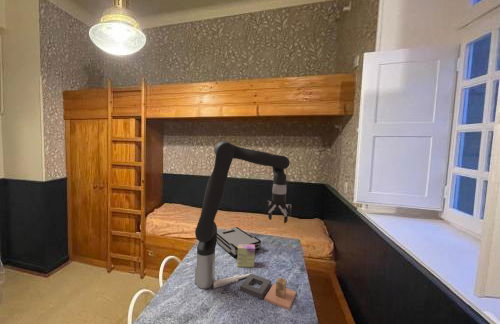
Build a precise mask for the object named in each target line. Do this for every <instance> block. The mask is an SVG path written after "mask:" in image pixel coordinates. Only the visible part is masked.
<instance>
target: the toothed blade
mask: <svg viewBox="0 0 500 324" xmlns="http://www.w3.org/2000/svg"><path fill="white" fill-rule="evenodd" d="M250 274H253V273H252V272H250V273H247V274H242V275H239V274H235V275H234V276H230V277H225V278H220V279H216V280H214V283H213V288H219V287H222V286H223V287H225V286H227V285H230V284H232V283H233V284H234V283H238V282H239V280H241V279H244V278H245V279H246V278H247V277H248V276H249V275H250Z"/></svg>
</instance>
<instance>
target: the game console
mask: <svg viewBox="0 0 500 324" xmlns="http://www.w3.org/2000/svg"><path fill="white" fill-rule="evenodd" d="M216 244H218V245H219V246H220V247H221V248H222V249H223V250H224V251H225V252H227V253H228V255H230V256H231V257H232V258H233V259H235V258H237V257H238V244H254V245H255V252H257V251H260V248H261V246H262V240H261V239H259V238H257V237H256V236H252V235H251V234H249V233H247V232H245V231H244V230H242V229H241V228H239V227H238V226H234V227H231V228H230V230H227V231H223V232H222V231H221V230H217V241H216Z"/></svg>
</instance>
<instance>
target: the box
mask: <svg viewBox="0 0 500 324" xmlns="http://www.w3.org/2000/svg"><path fill="white" fill-rule="evenodd" d="M255 255H256V251H255V245H254V244H238V257H236V258H237V259H236V260H237V261H236V266H237V268H255V257H256V256H255Z"/></svg>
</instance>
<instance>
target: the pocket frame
mask: <svg viewBox="0 0 500 324" xmlns="http://www.w3.org/2000/svg"><path fill="white" fill-rule="evenodd" d="M249 274H250V273H249ZM252 284H256V285H258V286H259V287H256V286H253V285H252ZM271 286H272V280H270V279H268V278H266V277H262V276H259V275H256V274H255V273H252V274H250V275H249V276H248V277H246V278H245V279H244V281H243V282H241V283H240V284H239V291H240V292H242V293H244V294H248V295H249V296H253V297H255V298H256V299H260V300H262V299H263V298H264V297H265V296H266V294H267V293H268V291H269V289H270V288H271Z"/></svg>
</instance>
